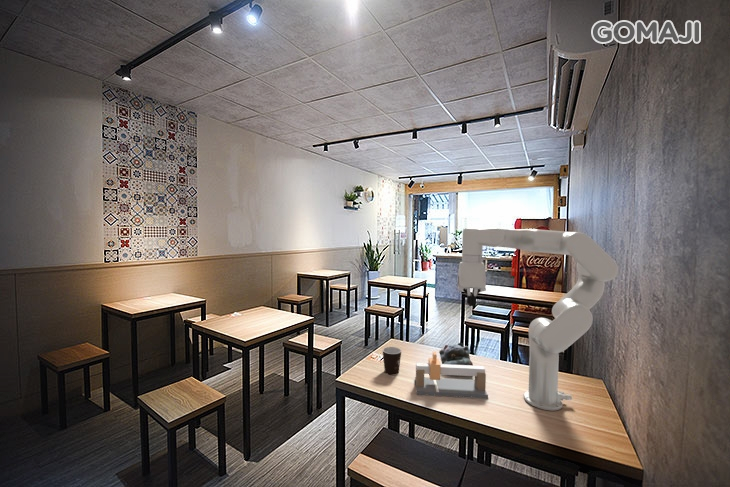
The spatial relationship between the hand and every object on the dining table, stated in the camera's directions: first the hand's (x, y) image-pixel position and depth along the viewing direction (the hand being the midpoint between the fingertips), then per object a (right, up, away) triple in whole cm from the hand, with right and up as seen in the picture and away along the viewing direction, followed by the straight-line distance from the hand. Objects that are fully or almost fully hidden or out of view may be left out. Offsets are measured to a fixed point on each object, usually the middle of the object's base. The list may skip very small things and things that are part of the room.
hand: (471, 305), depth 123 cm
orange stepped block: (-14, -30, +4) cm, 33 cm away
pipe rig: (-8, -35, +4) cm, 36 cm away
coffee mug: (-29, -34, +20) cm, 49 cm away
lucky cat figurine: (-1, -35, +20) cm, 40 cm away
